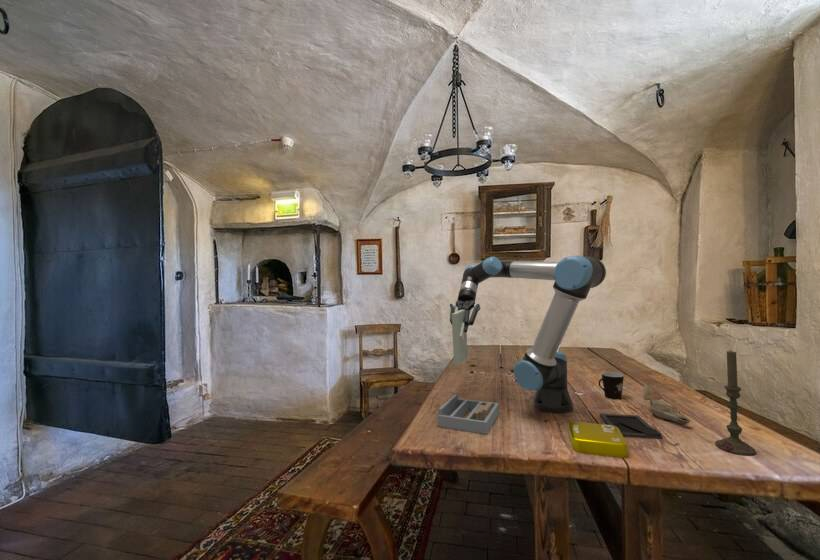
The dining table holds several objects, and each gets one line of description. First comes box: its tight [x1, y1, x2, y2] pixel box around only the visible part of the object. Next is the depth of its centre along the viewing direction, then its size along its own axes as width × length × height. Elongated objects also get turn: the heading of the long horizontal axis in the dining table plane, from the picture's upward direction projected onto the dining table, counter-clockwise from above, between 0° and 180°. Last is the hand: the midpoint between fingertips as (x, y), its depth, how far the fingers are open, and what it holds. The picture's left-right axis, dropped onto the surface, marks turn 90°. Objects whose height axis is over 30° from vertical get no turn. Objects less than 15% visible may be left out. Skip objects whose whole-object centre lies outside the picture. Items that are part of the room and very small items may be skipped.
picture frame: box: [599, 413, 663, 440], centre depth 124 cm, size 13×2×18 cm
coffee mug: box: [598, 371, 625, 400], centre depth 156 cm, size 12×9×10 cm
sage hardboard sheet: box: [451, 310, 468, 366], centre depth 141 cm, size 2×13×20 cm, turn 156°
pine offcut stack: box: [474, 403, 491, 421], centre depth 133 cm, size 4×9×6 cm, turn 154°
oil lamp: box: [642, 382, 691, 426], centre depth 131 cm, size 9×21×10 cm, turn 179°
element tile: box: [567, 420, 628, 459], centre depth 112 cm, size 15×15×5 cm
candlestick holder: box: [714, 348, 757, 457], centre depth 107 cm, size 9×9×30 cm
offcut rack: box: [437, 393, 500, 435], centre depth 134 cm, size 18×21×6 cm
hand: (458, 337), depth 139 cm, fingers closed on sage hardboard sheet, 2 cm apart
